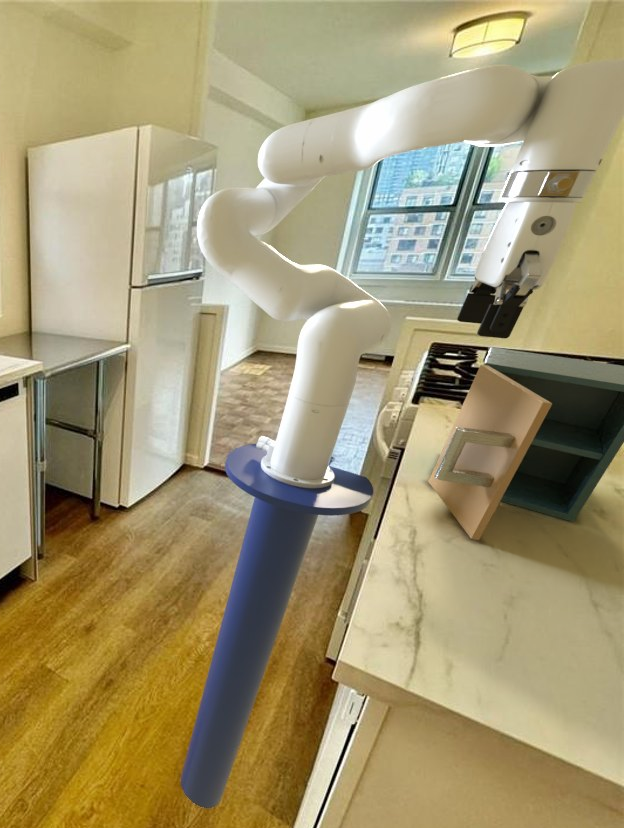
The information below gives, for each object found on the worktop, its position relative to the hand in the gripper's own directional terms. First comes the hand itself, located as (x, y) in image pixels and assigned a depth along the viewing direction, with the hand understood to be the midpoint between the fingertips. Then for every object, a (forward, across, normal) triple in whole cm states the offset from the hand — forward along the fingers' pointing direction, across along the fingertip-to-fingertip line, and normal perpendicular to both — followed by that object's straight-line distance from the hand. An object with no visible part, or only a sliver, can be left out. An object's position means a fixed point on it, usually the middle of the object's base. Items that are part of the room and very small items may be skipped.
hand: (480, 329), depth 67 cm
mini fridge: (+29, +15, -17) cm, 37 cm away
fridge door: (+29, +1, -4) cm, 29 cm away
